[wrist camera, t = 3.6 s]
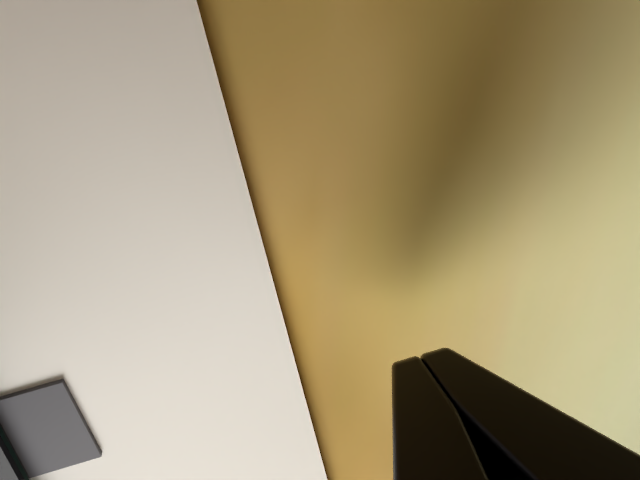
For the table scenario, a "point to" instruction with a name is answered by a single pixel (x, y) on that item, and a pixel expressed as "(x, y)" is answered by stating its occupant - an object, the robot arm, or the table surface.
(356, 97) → the table surface
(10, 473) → the black stand
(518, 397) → the robot arm
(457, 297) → the table surface
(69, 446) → the letter tile
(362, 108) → the table surface
